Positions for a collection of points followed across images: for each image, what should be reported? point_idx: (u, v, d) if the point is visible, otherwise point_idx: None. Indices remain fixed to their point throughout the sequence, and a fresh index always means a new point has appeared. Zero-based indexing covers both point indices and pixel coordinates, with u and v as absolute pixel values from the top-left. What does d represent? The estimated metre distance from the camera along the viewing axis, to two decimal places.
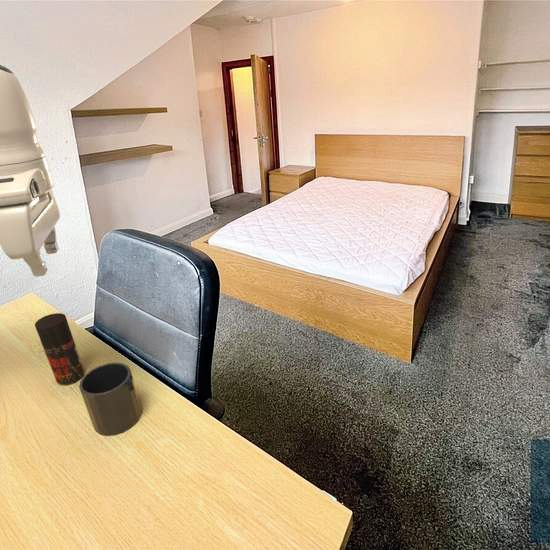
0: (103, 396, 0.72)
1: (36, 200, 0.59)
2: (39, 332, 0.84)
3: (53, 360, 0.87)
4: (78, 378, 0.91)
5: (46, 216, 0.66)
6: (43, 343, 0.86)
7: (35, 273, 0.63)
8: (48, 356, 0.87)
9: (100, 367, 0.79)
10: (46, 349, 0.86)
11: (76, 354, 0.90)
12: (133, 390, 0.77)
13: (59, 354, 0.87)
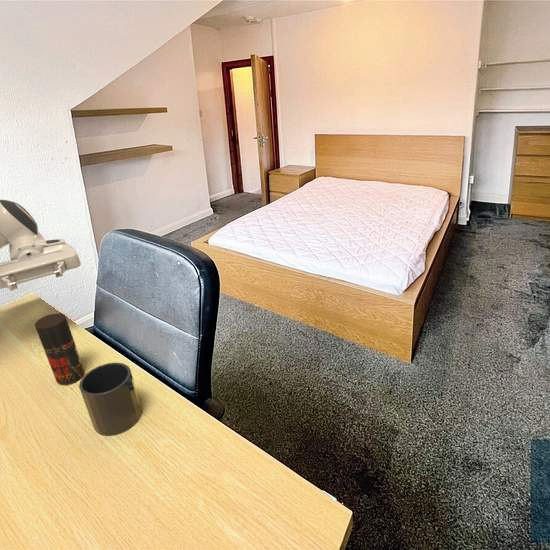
0: (103, 396, 0.72)
1: None
2: (39, 332, 0.84)
3: (53, 360, 0.87)
4: (78, 378, 0.91)
5: None
6: (43, 343, 0.86)
7: (61, 270, 0.95)
8: (48, 356, 0.87)
9: (100, 367, 0.79)
10: (46, 349, 0.86)
11: (76, 354, 0.90)
12: (133, 390, 0.77)
13: (59, 354, 0.87)
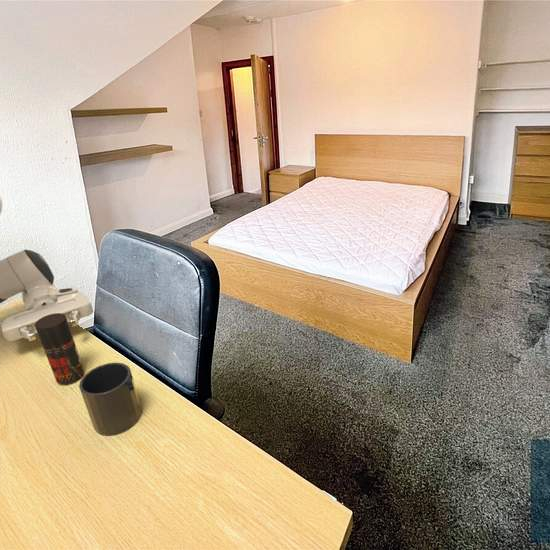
0: (103, 396, 0.72)
1: None
2: (39, 332, 0.84)
3: (53, 360, 0.87)
4: (78, 378, 0.91)
5: None
6: (43, 343, 0.86)
7: (76, 319, 1.00)
8: (48, 356, 0.87)
9: (100, 367, 0.79)
10: (46, 349, 0.86)
11: (76, 354, 0.90)
12: (133, 390, 0.77)
13: (59, 354, 0.87)
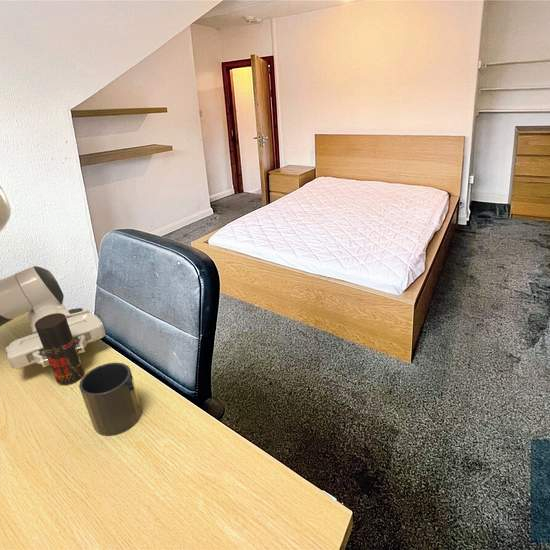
0: (103, 396, 0.72)
1: None
2: (39, 332, 0.84)
3: (53, 360, 0.87)
4: (78, 378, 0.91)
5: None
6: (43, 343, 0.86)
7: (83, 346, 0.92)
8: (48, 356, 0.87)
9: (100, 367, 0.79)
10: (46, 349, 0.86)
11: (76, 354, 0.90)
12: (133, 390, 0.77)
13: (59, 354, 0.87)
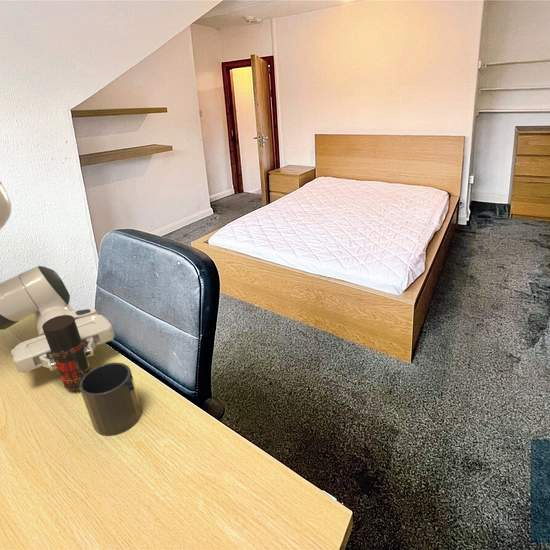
0: (103, 396, 0.72)
1: None
2: (47, 335, 0.81)
3: (61, 363, 0.84)
4: None
5: None
6: (51, 346, 0.82)
7: (92, 349, 0.88)
8: (56, 360, 0.84)
9: (100, 367, 0.79)
10: (54, 352, 0.83)
11: (85, 357, 0.87)
12: (133, 390, 0.77)
13: (67, 358, 0.83)
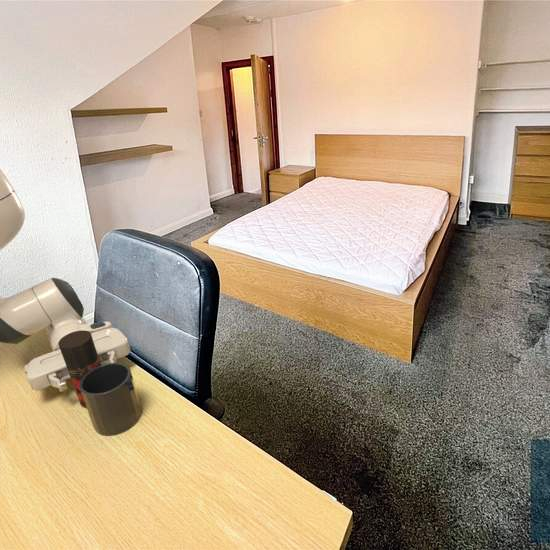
0: (103, 396, 0.72)
1: None
2: (63, 352, 0.77)
3: (77, 381, 0.80)
4: None
5: None
6: (67, 363, 0.79)
7: None
8: (72, 378, 0.80)
9: (100, 367, 0.79)
10: (70, 370, 0.79)
11: None
12: (133, 390, 0.77)
13: None
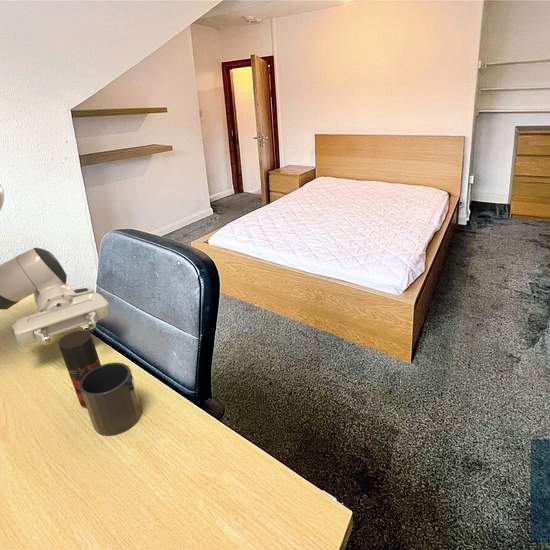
0: (103, 396, 0.72)
1: None
2: (63, 352, 0.77)
3: (77, 381, 0.80)
4: None
5: None
6: (67, 363, 0.79)
7: (94, 321, 0.93)
8: (72, 378, 0.80)
9: (100, 367, 0.79)
10: (70, 370, 0.79)
11: None
12: (133, 390, 0.77)
13: None
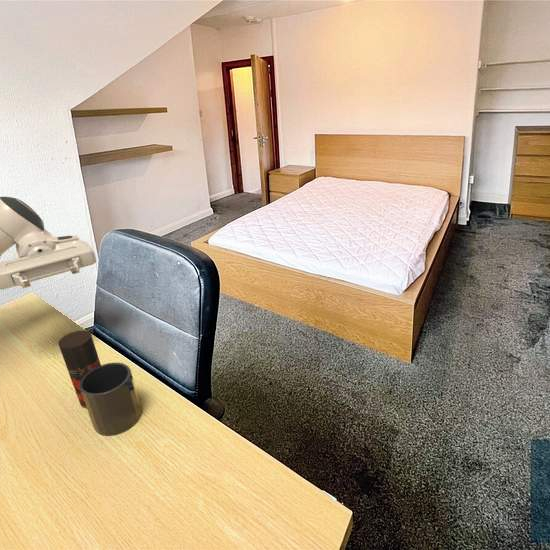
0: (103, 396, 0.72)
1: None
2: (63, 352, 0.77)
3: (77, 381, 0.80)
4: None
5: None
6: (67, 363, 0.79)
7: (77, 266, 0.87)
8: (72, 378, 0.80)
9: (100, 367, 0.79)
10: (70, 370, 0.79)
11: None
12: (133, 390, 0.77)
13: None
